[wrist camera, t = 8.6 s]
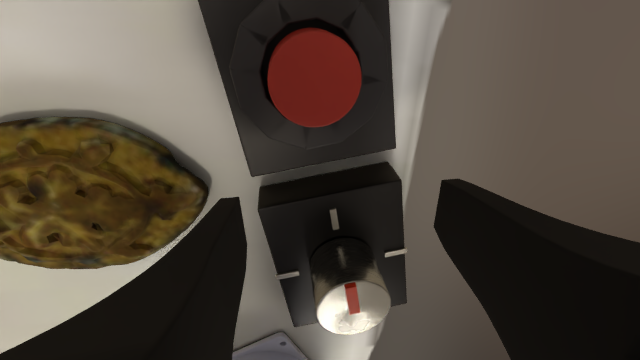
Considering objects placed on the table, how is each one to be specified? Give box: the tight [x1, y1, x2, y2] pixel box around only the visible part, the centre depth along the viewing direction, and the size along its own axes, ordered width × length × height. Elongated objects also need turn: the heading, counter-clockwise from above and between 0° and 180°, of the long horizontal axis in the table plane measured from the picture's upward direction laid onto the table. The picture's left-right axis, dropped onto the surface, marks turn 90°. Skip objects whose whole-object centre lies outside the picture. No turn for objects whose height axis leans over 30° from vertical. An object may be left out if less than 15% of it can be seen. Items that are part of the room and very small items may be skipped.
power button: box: [267, 28, 362, 127], centre depth 13 cm, size 4×4×2 cm
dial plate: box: [258, 162, 407, 327], centre depth 21 cm, size 10×8×3 cm
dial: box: [310, 238, 391, 335], centre depth 18 cm, size 4×4×4 cm
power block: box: [198, 0, 396, 177], centre depth 15 cm, size 10×8×4 cm
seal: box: [0, 117, 208, 269], centre depth 17 cm, size 9×5×15 cm
